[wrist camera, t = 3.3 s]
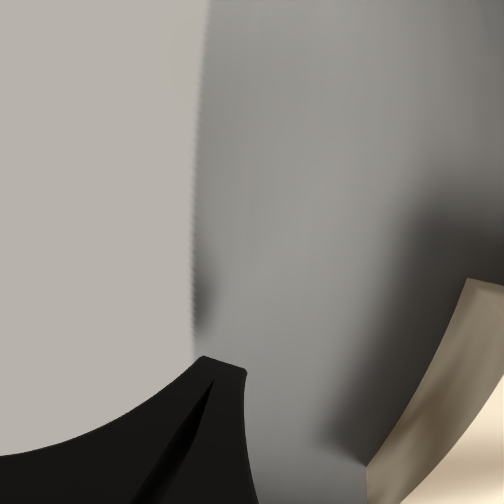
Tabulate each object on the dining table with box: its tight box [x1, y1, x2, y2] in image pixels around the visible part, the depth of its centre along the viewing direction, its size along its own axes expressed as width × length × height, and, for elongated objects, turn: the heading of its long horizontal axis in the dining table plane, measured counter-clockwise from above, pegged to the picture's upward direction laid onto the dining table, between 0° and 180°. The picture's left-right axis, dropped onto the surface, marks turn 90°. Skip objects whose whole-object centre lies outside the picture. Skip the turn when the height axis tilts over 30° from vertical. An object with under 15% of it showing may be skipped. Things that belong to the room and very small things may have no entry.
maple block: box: [366, 278, 504, 504], centre depth 8 cm, size 10×8×4 cm
